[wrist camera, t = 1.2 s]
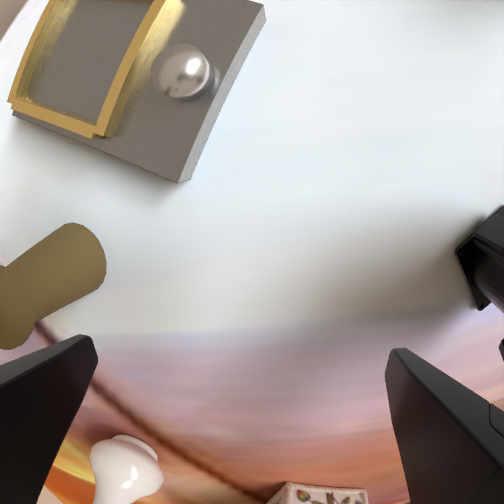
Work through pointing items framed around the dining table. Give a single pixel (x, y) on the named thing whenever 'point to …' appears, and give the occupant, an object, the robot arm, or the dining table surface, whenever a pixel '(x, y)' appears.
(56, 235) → the cork
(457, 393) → the robot arm
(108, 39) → the grey base with knob
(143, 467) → the flower vase
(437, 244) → the dining table surface
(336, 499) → the decorative jar
